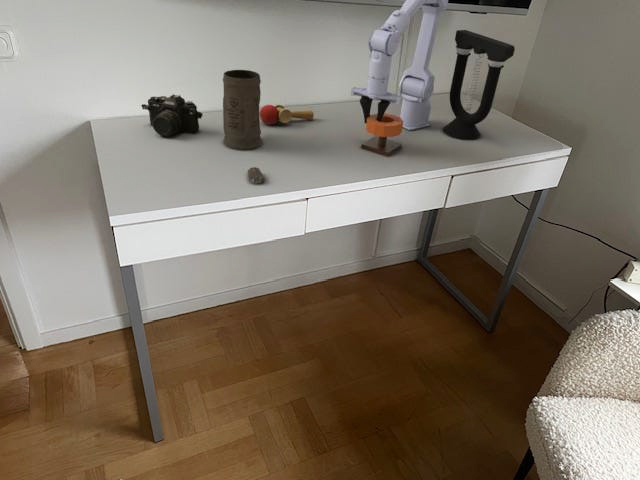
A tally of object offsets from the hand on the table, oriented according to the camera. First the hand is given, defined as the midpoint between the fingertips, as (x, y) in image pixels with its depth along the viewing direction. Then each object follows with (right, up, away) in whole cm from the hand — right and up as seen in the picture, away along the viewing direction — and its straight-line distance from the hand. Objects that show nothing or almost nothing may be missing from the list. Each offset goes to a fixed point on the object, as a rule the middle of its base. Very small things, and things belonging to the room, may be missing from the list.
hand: (372, 123), depth 145 cm
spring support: (+32, 0, +17) cm, 36 cm away
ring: (+3, -2, 0) cm, 4 cm away
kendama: (-26, +4, +15) cm, 30 cm away
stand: (+3, -7, +3) cm, 8 cm away
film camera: (-59, -2, +1) cm, 59 cm away
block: (-32, -19, -20) cm, 42 cm away
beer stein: (-37, -5, 0) cm, 37 cm away
